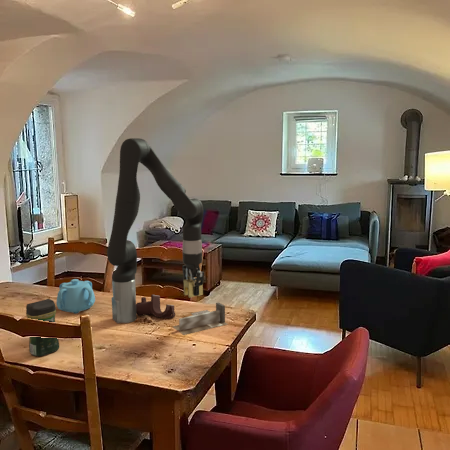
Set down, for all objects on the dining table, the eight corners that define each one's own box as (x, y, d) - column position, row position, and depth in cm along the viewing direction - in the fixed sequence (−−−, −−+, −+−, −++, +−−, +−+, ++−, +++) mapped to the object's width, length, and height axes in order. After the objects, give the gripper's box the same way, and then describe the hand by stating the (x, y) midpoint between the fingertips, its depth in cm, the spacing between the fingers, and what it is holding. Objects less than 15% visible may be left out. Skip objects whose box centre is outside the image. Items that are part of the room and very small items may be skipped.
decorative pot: (60, 304, 213) (58, 275, 211) (96, 301, 216) (95, 273, 213) (54, 317, 197) (51, 286, 195) (93, 314, 200) (91, 283, 197)
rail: (183, 337, 175) (183, 317, 173) (172, 328, 183) (171, 309, 182) (228, 326, 185) (228, 307, 184) (215, 318, 193) (215, 300, 192)
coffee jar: (52, 344, 170) (48, 295, 167) (62, 350, 164) (59, 300, 161) (25, 352, 163) (21, 302, 160) (35, 359, 157) (31, 307, 154)
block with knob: (189, 297, 177) (188, 280, 176) (183, 294, 181) (183, 277, 179) (202, 294, 180) (202, 278, 179) (197, 292, 184) (197, 275, 183)
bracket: (171, 316, 189) (170, 292, 191) (135, 320, 194) (134, 296, 197) (177, 317, 194) (176, 293, 197) (142, 321, 200) (142, 297, 202)
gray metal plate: (197, 320, 192) (197, 317, 192) (190, 315, 197) (190, 313, 197) (213, 316, 196) (213, 314, 196) (206, 312, 201) (206, 309, 201)
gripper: (175, 248, 181) (176, 290, 184) (192, 255, 169) (193, 300, 172) (192, 246, 185) (193, 287, 188) (210, 253, 173) (210, 296, 176)
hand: (193, 293), depth 180 cm, fingers closed on block with knob, 4 cm apart
